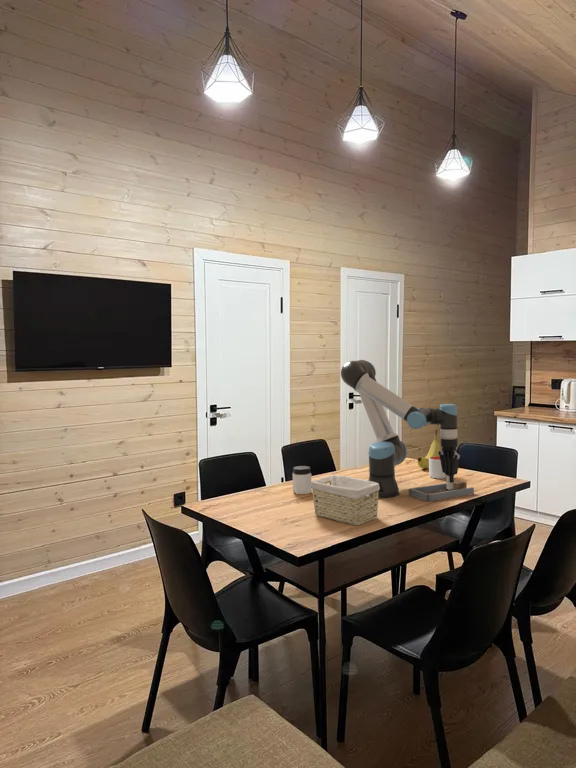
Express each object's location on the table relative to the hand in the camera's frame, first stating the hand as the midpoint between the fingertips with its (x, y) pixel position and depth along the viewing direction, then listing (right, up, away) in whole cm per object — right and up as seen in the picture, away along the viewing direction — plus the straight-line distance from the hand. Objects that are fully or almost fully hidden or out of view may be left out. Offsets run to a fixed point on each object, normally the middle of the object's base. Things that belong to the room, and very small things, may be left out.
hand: (449, 488), depth 260 cm
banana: (+5, +1, +58) cm, 58 cm away
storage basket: (-51, -6, -32) cm, 61 cm away
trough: (-4, -2, -2) cm, 5 cm away
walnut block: (+4, -2, +2) cm, 5 cm away
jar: (-67, -4, +9) cm, 68 cm away
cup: (+4, 0, +33) cm, 33 cm away
